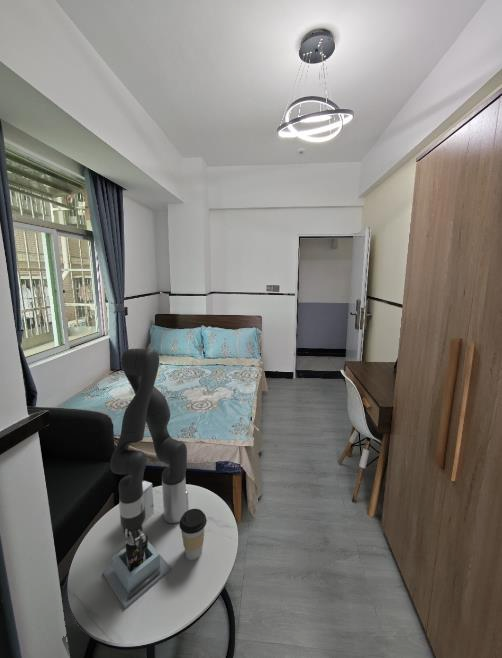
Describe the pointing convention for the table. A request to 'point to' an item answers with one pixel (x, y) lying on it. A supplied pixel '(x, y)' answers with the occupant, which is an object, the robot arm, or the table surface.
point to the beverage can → (132, 555)
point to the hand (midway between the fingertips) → (135, 551)
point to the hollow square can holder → (135, 575)
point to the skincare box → (148, 500)
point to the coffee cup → (193, 532)
